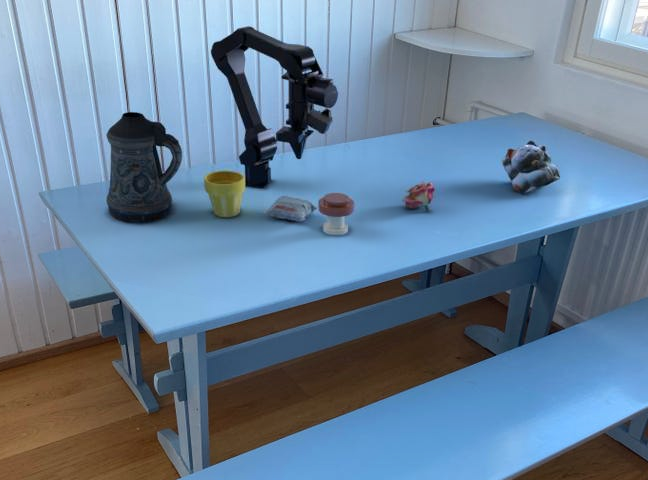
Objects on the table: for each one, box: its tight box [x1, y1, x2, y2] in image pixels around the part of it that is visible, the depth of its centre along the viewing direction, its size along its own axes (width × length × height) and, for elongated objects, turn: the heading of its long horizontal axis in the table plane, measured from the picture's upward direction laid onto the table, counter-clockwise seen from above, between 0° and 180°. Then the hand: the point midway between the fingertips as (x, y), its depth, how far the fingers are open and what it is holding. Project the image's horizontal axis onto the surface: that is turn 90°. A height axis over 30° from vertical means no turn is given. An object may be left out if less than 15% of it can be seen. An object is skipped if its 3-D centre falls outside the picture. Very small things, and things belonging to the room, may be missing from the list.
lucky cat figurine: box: [501, 140, 561, 195], centre depth 216 cm, size 15×12×14 cm
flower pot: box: [203, 169, 246, 218], centre depth 191 cm, size 10×10×10 cm
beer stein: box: [105, 111, 183, 224], centre depth 186 cm, size 16×19×25 cm
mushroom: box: [317, 192, 355, 236], centre depth 186 cm, size 9×9×9 cm
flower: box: [401, 180, 435, 212], centre depth 199 cm, size 10×9×8 cm
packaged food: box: [262, 195, 318, 222], centre depth 192 cm, size 9×12×5 cm
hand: (299, 158), depth 198 cm, fingers closed
